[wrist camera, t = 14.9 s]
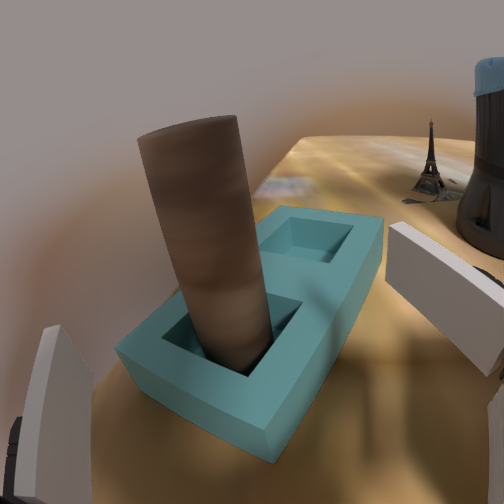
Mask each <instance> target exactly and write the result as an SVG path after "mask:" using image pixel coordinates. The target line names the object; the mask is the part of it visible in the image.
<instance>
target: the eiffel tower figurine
mask: <svg viewBox="0 0 504 504" xmlns="http://www.w3.org/2000/svg"><path fill="white" fill-rule="evenodd" d="M429 125H430V137H429V150H428V157H427V160H426V166H425V169H424V171H423V172H422V173H421V178H420V179H419V181H418V182H417V184H416V185H415V187H414V188H413V189H412V191H416V192H421V193H426V194H430V195H434V196H437V198H436V199H435V200H433V201H431V202H435V201H445V200H457V199H460V198H462V196H463V194H464V192H462V191H461V190H450V191H445V189H446V187H445V185H444V183H443V181H442V179H441V178H440V173H439V172H438V170H437V167H436V162H435V161H436V160H435V156H434V141H433V122H432V121H431V122H430V124H429ZM430 166H431V168H432V171H430ZM447 180H449V181H451V182H452V183H455V184H457V183H456V182H454V181H453V180H451V179H447ZM425 181H428V182H430V183H432V184H428V183H425ZM438 182H439V184H440V186H438ZM444 191H445V192H444ZM402 202H403V203H405V204H408V203H423V202H420V201H416V200H412V199H405V200H402Z"/></svg>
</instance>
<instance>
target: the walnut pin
mask: <svg viewBox="0 0 504 504" xmlns="http://www.w3.org/2000/svg"><path fill="white" fill-rule="evenodd" d="M137 141H138V146H139V149H140V154H141V157H142V161H143V165H144V169H145V173H146V177H147V180H148V184H149V188H150V191H151V195H152V198H153V202H154V205H155V209H156V213H157V216H158V219H159V223H160V226H161V229H162V232H163V236H164V239H165V242H166V246H167V249H168V252H169V255H170V258H171V261H172V264H173V268H174V270H175V274H176V277H177V280H178V283H179V286H180V288H181V291H182V294H183V297H184V300H185V303H186V306H187V309H188V311H189V314H190V317H191V320H192V323H193V325H194V328H195V331H196V333H197V336H198V339H199V341H200V344H201V347H202V349H203V352H204V355H205V357H206V360H209V361H211V362H213V363H215V364H218V365H220V366H222V367H225V368H227V369H229V370H232V371H234V372H236V373H239V374H241V375H244V376H246V377H249V376H250V374H251V373H252V372H253V370H254V369H255V368H256V366H257V365H258V364H259V363H260V361H261V360H262V359H263V357H264V356H265V355H266V353H267V352H268V351H269V349H270V348H271V346H272V345H273V344H274V337H273V331H272V325H271V318H270V312H269V306H268V300H267V294H266V288H265V282H264V276H263V270H262V264H261V258H260V252H259V246H258V240H257V234H256V228H255V222H254V216H253V210H252V204H251V198H250V192H249V187H248V181H247V175H246V169H245V163H244V158H243V152H242V145H241V140H240V135H239V128H238V123H237V117H236V116H235V115H227V116H217V117H210V118H204V119H199V120H194V121H189V122H185V123H181V124H177V125H173V126H169V127H166V128H163V129H159V130H156V131H153V132H151V133H148V134H146V135H143V136H141V137H139V138H138V139H137Z"/></svg>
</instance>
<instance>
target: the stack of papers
mask: <svg viewBox="0 0 504 504" xmlns="http://www.w3.org/2000/svg"><path fill="white" fill-rule="evenodd" d="M487 409H488V424H489V489H488V503H487V504H504V383H502V385H501V386H500V388H499V392H497V393H496V394H495V396H494V397H493V400H491V402H490V403H489V405H488V406H487Z"/></svg>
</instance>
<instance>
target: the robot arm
mask: <svg viewBox="0 0 504 504" xmlns="http://www.w3.org/2000/svg"><path fill="white" fill-rule="evenodd" d="M474 96H476V140H475V159H474V169H473V173H472V175H471V178H470V180H469V183H468V185H467V187H466V190H465V192H464V194H463V196H462V199H461V201H460V203H459V206H458V210H457V218H456V227H457V229H458V231H459V232H460V234H461V235H462V236H463V237H464V238H465V239H466V240H467V241H468V242H470V243H471V244H472V245H474V246H475V247H477V248H479V249H480V250H482V251H484V252H486V253H488V254H491V255H493V256H496V257H498V258H501V259H504V57H491V58H485V59H482V60H480V61H479V62H478V63H477V65H476V66H475V92H474ZM385 281H386V282H387V283H388V284H389V285H391V286H392V287H393V288H394V289H395V290H396V291H397V292H398V293H400V294H401V295H402V296H403V297H404V298H405V299H406V300H407V301H408V302H410V303H411V304H412V305H413V306H414V307H415V308H416V309H417V310H418V311H419V312H420V313H422V314H423V315H424V316H425V317H426V318H427V319H428V320H429V321H430V322H431V323H432V324H433V325H434V326H435V327H437V328H438V329H439V330H440V331H441V332H442V333H443V334H444V335H445V336H446V337H447V338H448V339H449V340H450V341H451V342H452V343H453V344H454V345H455V346H456V347H457V348H458V349H459V350H460V351H461V352H462V353H463V354H464V355H465V356H466V357H467V358H468V359H469V360H470V361H471V362H472V363H473V364H474V365H475V366H476V367H477V368H478V369H479V370H480V371H481V372H482V373H483V374H484V375H485V376H486V377H488V376H489V375H490V374H491V373H492V372H493V371H495V370H496V369H497V368H498V367H499V366H500V364H501V362H502V360H503V358H504V285H503V283H502V282H501V281H499V280H498V279H497V280H496V279H495V277H494V276H492V275H491V274H489V273H488V272H487V271H485V270H483V269H480V268H477V267H475V266H471V265H470V264H468V263H467V262H465V261H464V260H462V259H461V258H459V257H458V256H456V255H455V254H453V253H452V252H450V251H449V250H447V249H446V248H444V247H443V246H441V245H440V244H438V243H437V242H435V241H434V240H432V239H430V238H429V237H427V236H426V235H424V234H423V233H421V232H419V231H418V230H416V229H415V228H413V227H411V226H410V225H408V224H406V223H405V222H403V221H401V222H398V223H395V224H392V225H389V233H388V250H387V263H386V274H385ZM503 377H504V368H503V370H502V372H501V374H500V377H499V380H502V379H503ZM92 386H93V373H92V371H91V370H90V368H89V367H88V366H87V364H86V363H85V361H84V360H83V358H82V357H81V355H80V354H79V352H78V351H77V350H76V348H75V346H74V345H73V343H72V342H71V340H70V339H69V337H68V335H67V334H66V332H65V331H64V329H63V327H62V326H61V324H59V325H56V326H52V327H49V328H45V329H44V332H43V335H42V338H41V342H40V345H39V349H38V353H37V356H36V360H35V363H34V367H33V371H32V376H31V380H30V384H29V388H28V393H27V398H26V402H25V407H24V413H23V416H22V417H17V418H16V420H15V422H14V424H13V426H12V428H11V431H10V436H9V443H8V444H9V446H8V449H7V455H8V457H6V465H5V474H4V485H3V496H2V497H1V496H0V504H93V494H92V477H91V405H92Z"/></svg>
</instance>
